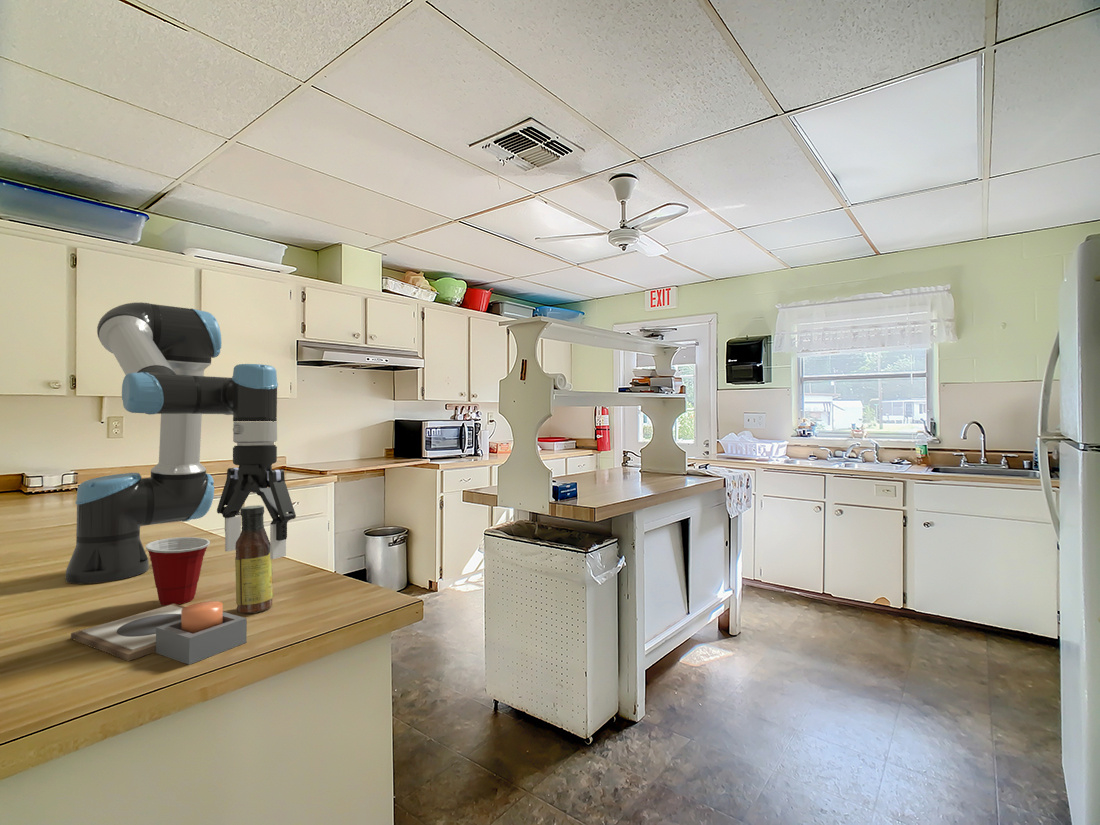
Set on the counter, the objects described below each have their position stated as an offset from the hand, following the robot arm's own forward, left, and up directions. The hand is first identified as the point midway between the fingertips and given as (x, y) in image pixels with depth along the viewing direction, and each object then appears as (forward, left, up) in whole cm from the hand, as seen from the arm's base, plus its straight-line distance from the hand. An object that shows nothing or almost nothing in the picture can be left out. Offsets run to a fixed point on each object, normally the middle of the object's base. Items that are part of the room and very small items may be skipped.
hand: (254, 553), depth 104 cm
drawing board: (-5, -15, -11) cm, 19 cm away
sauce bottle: (0, 0, -11) cm, 11 cm away
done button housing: (+9, -15, -11) cm, 20 cm away
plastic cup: (-18, -4, -11) cm, 22 cm away
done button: (+9, -15, -8) cm, 19 cm away
